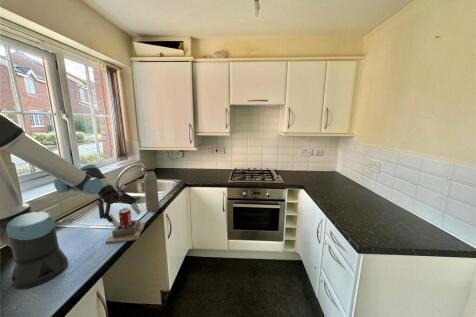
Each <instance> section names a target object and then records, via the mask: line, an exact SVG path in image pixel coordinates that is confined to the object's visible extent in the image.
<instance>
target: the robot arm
mask: <svg viewBox="0 0 476 317" xmlns="http://www.w3.org/2000/svg"><path fill="white" fill-rule="evenodd" d="M0 150H4V151H5V152H7V153H9V154H11V155H12V156H15V157H17V158H18V159H21V160H22V161H24V162H25V163H28V164H30V165H31V166H34V167H35V168H37V169H39V170H40V171H42V172H44V173H46V174H48V175H50V176H52V177H54V178H55V179H54V180H53V181H54V182H53V184H54V188H55V189H56V191H57V192H59V193H61V194H64V193H69V192H70V191H73V192H77V193H83V194H85V195H96V194H97V195H98V197H99V198H98V199H97V201H96V204H97V207H98V215H99V219H100V220H101V219H104V220H106V221H107V222H109V223H110V224H112V225H113V226H114V229H115V228H116V227H117V226H118V225H119V222H118V221H117V219H116V218H115V216H114V215H113V214H112V213H111V212H110V211H111V206H112V205H113V204H115V203H120V202H121V203H123V204H126V205H130V208H132V210H133V211H134V212H135V214H136V215H139V216H140V214H141V213H142V211H141V209H140V208H139V206H138V204H137V203H136V202H137V200H138V199H137V198H135V197H133V196H131V195H130V194H128V193H126V192H125V191H124V190H122V189H121V190H120V191H117V190H116V188H115V187H114V186H113V185H112V183H111V181H110V180H109V179H108V178H107V177H105V175H104V173H102V171H101V170H100V168H99V167H97V166H96V165H95V163H89V164H86V165H83V166H82V167H81V168H80V167H77V166H76V165H74V164H73V163H71V162H70V161H68V160H66V159H65V158H63V157H62V156H61V155H59V154H58V153H56V152H54V151H53V150H52V149H50V148H48V147H47V146H45V145H43V144H42V143H41V142H39V141H37V140H36V139H34V138H33V137H31V136H30V135H28V134H26V130H25V129H24V128H23V127H22V126H20V125H19V124H18V123H16V122H14V121H13V120H12V119H10V118H9V117H7V116H6V115H4V114H3V113H1V112H0ZM104 203H105V207H104ZM0 243H1V244H4V245H6V246H8V247H10V250H11V252H12V255H13V259H14V267H13V271H12V276H11V283H12V287H13V288H15V289H17V290H26V289H30V288H34V287H37V286H40V285H42V284H43V285H44V284H45V283H47V282H49V281H50V280H52V279H54V278H56V277H57V276H60V274H61V273H62V272H64V271H65V269H66V268H67V267H68V265H69V261H68V257H67V255H66V254H65V253H64V252H63V251H62V249H61V248H60V245H59V241H58V236H57V230H56V222H55V220H54V217H53V215H52V214H51V213H49V212H47V211H38V212H37V211H33V209H32V207H31V205H30V203H28V202H23V201H22V199H21V196H20V194H19V192H18V190H17V187H16V185H15V183H14V181H13V179H12V176H11V175H10V173H9V170H8V167H7V165H6V163H5V162H4V159H3V157H2V154H1V153H0Z"/></svg>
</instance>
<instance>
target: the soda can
mask: <svg viewBox="0 0 476 317" xmlns="http://www.w3.org/2000/svg"><path fill="white" fill-rule="evenodd" d="M131 211H132V210H130V207H129V208H128V207H124V208H121V209H120V210H119V212H118V216H119V222H120V225H121V229H129V228H132V213H131Z"/></svg>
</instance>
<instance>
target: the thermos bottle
mask: <svg viewBox="0 0 476 317" xmlns="http://www.w3.org/2000/svg"><path fill="white" fill-rule="evenodd" d="M143 188H144V196H145V198H144V199H145V207H146V208H145V209H146V211H147V212H149V211H152V212H156V211H158V210H159V209H160V202H159V190H158V189H159V188H158V177H157V175H156V173H155V172H154V168H146V169H145V174H144V176H143Z"/></svg>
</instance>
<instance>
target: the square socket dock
mask: <svg viewBox="0 0 476 317" xmlns="http://www.w3.org/2000/svg"><path fill="white" fill-rule="evenodd" d="M131 220H132V219H131ZM118 223H119V225H118V226H117V227H116V228H115V227H114V228H113V230H112V231H111V232H112V233H111V234H110V235H109V236H108V238H107V239H106V240H105V244H113V243H112V242H115V243H121V242H120V241H124V242H129V241H132V242H133V241H138V239H139V237H140V235H141V234H142V231H143V229H144V228H145V225H146V221H141V220H140V219H134V220H132V228H129V229H121V225H120V221H119V222H118Z"/></svg>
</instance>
